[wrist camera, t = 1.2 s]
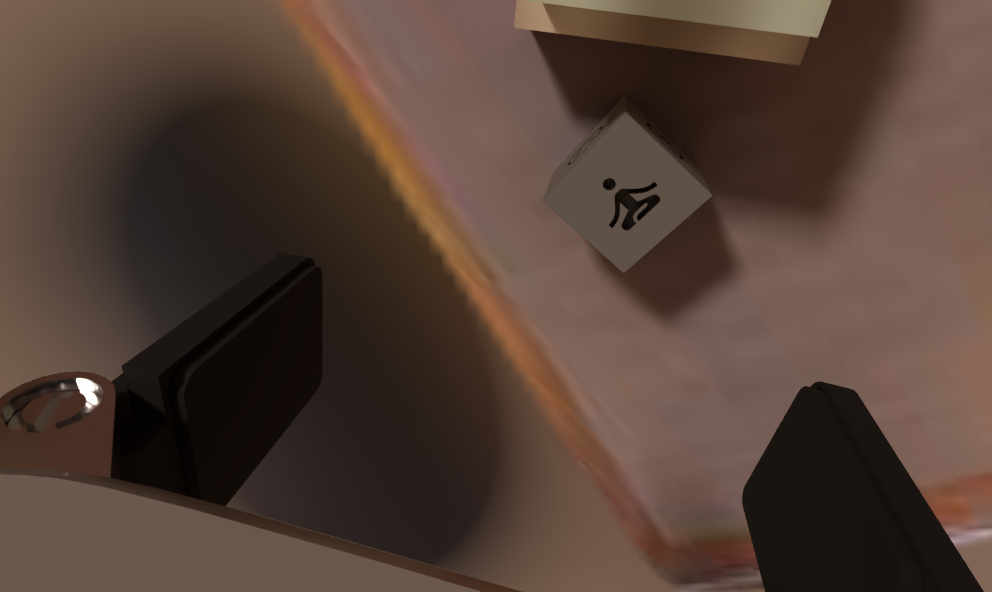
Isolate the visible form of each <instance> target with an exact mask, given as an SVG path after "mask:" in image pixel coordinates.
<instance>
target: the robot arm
mask: <svg viewBox="0 0 992 592" xmlns="http://www.w3.org/2000/svg"><path fill="white" fill-rule="evenodd" d="M122 370H123V374H121V375H120V376H118V377H117V378H116V379H114V380H113V381H112V382H111V381H109V380H108V379H107V378H106V377H103V376H101V375H98V374H95V373H88V372H64V373H57V374H52V375H48V376H43V377H40V378H37V379H34V380H32V381H29V382H26V383H24V384H21V385H20V386H18V387H16V388H14V389H12V390H11V391H9V392H7V393H6V394H4V395H3V396H2V397H1V398H0V592H522V591H518V590H514V589H512V588H508V587H505V586H501V585H497V584H494V583H491V582H487V581H484V580H481V579H477V578H474V577H470V576H467V575H464V574H460V573H456V572H453V571H450V570H446V569H443V568H440V567H436V566H433V565H429V564H426V563H422V562H419V561H416V560H412V559H409V558H405V557H402V556H398V555H395V554H391V553H388V552H384V551H380V550H377V549H374V548H370V547H367V546H363V545H360V544H356V543H353V542H350V541H346V540H343V539H339V538H336V537H332V536H329V535H325V534H321V533H318V532H315V531H311V530H307V529H304V528H301V527H297V526H294V525H290V524H286V523H283V522H280V521H276V520H273V519H269V518H266V517H262V516H259V515H255V514H252V513H248V512H244V511H241V510H237V509H233V508H229V507H226V505H227V503H229V501H230V500H231V499H232V497H233V496H234V495H235V494H236V492H237V491H238V490H239V489H240V487H241V486H242V485H243V483H244V482H245V481H246V480H247V478H248V477H249V476H250V475H251V473H252V472H253V471H254V470H255V468H256V467H257V466H258V464H259V463H260V462H261V461H262V459H263V458H264V457H265V456H266V454H267V453H268V452H269V451H270V449H271V448H272V447H273V446H274V444H275V443H276V442H277V441H278V439H279V438H280V437H281V435H282V434H283V433H284V432H285V430H286V429H287V428H288V427H289V425H290V424H291V423H292V422H293V420H294V419H295V418H296V417H297V415H298V414H299V413H300V411H301V410H302V409H303V408H304V406H305V405H306V404H307V402H308V401H309V400H310V399H311V398H312V396H313V395H314V394H315V392H316V391H317V389H318V387H319V385H320V382H321V379H322V271H321V269H320V268H319V267H315V263H314V260H313V259H311V258H308V257H304V256H300V255H296V254H292V253H288V252H281V253H279V254H278V255H276V256H275V257H274V258H272V259H271V260H269V261H268V262H267V263H265V264H264V265H262V266H261V267H260V268H258V269H257V270H256V271H254V272H253V273H251V274H250V275H248V276H247V277H246V278H244V279H243V280H241V281H240V282H239V283H237V284H236V285H234V286H233V287H232V288H230V289H229V290H228V291H226V292H225V293H223V294H222V295H220V296H219V297H218V298H216V299H215V300H213V301H212V302H211V303H209V304H208V305H206V306H205V307H204V308H202V309H201V310H199V311H198V312H197V313H195V314H194V315H192V316H191V317H190V318H188V319H187V320H185V321H184V322H183V323H181V324H180V325H178V326H177V327H176V328H174V329H173V330H171V331H170V332H169V333H167V334H166V335H164V336H163V337H162V338H160V339H159V340H157V341H156V342H155V343H153V344H152V345H151V346H149V347H148V348H146V349H145V350H143V351H142V352H141V353H139V354H138V355H136V356H135V357H134V358H132V359H131V360H129V361H128V362H127V363H125V364H124V365H122ZM742 503H743V508H744V512H745V516H746V520H747V524H748V527H749V531H750V535H751V539H752V543H753V547H754V551H755V554H756V558H757V562H758V566H759V570H760V574H761V577H762V581H763V585H764V589H765V592H984V591H983V590H982V588H981V587H980V585H979V583H978V582H977V580H976V579H975V577H974V576H973V574H972V572H971V571H970V569H969V568H968V566H967V565H966V563H965V561H964V560H963V559H962V557H961V555H960V554H959V552H958V551H957V549H956V547H955V546H954V544H953V543H952V541H951V540H950V538H949V536H948V535H947V533H946V532H945V530H944V529H943V527H942V525H941V524H940V522H939V521H938V519H937V518H936V516H935V514H934V513H933V511H932V510H931V508H930V507H929V505H928V504H927V502H926V500H925V499H924V497H923V496H922V494H921V493H920V491H919V489H918V488H917V486H916V485H915V483H914V482H913V480H912V478H911V477H910V475H909V474H908V472H907V471H906V469H905V468H904V466H903V464H902V463H901V461H900V460H899V458H898V457H897V455H896V453H895V452H894V450H893V449H892V447H891V446H890V444H889V442H888V441H887V439H886V438H885V436H884V435H883V433H882V431H881V430H880V428H879V427H878V425H877V424H876V422H875V421H874V419H873V417H872V416H871V414H870V413H869V411H868V410H867V408H866V406H865V405H864V403H863V402H862V400H861V399H860V397H859V395H858V394H857V393H856V392H855V391H854V390H852V389H849V388H845V387H841V386H837V385H833V384H828V383H824V382H820V381H819V382H815V383H814V384H813V385H812V386H811V387H808V386H805V387H803V388H801V389H800V391H799V392H798V394H797V395H796V397H795V399H794V401H793V402H792V404H791V406H790V408H789V409H788V411H787V413H786V415H785V416H784V418H783V420H782V422H781V424H780V425H779V427H778V429H777V431H776V432H775V434H774V436H773V438H772V439H771V441H770V443H769V445H768V446H767V448H766V450H765V452H764V453H763V455H762V457H761V459H760V460H759V462H758V464H757V466H756V467H755V469H754V471H753V473H752V474H751V476H750V478H749V480H748V481H747V483H746V485H745V487H744V490H743V496H742Z"/></svg>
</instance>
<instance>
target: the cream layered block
mask: <svg viewBox="0 0 992 592" xmlns="http://www.w3.org/2000/svg"><path fill="white" fill-rule="evenodd" d="M830 3H831V0H517V3H516V12H515V21H514V28H520V29H528V30H535V31H543V32H550V33H558V34H565V35H573V36H580V37H588V38H596V39H603V40H611V41H618V42H626V43H633V44H641V45H648V46H656V47H664V48H671V49H679V50H686V51H694V52H701V53H709V54H716V55H724V56H732V57H739V58H747V59H754V60H762V61H769V62H777V63H784V64H792V65H799V66H800V65H801V62H802V59H803V56H804V54H805V51H806V48H807V45H808V43H809V40H810V37H817V38H818V35H819V33H820V30H821V27H822V24H823V22H824V19H825V16H826V14H827V11H828V8H829V5H830Z"/></svg>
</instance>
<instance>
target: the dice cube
mask: <svg viewBox="0 0 992 592" xmlns="http://www.w3.org/2000/svg"><path fill="white" fill-rule="evenodd" d="M712 196H713V195H712V193H711V191H710V189H709V187H708V185H707V183H706V181H705V179H704V177H703V176H702V174H701V172H700V170H699V168H698V166H697V165H696V164H695V163H694V162H693V161H692V160H691V159H690V158H689V157H688V156H687V155H686V154H685V153H684V152H683V151H682V150H681V149H680V148H679V147H678V146H677V145H676V144H675V143H674V142H673V141H672V140H670V139H669V138H668V137H667V136H666V135H665V134H664V133H663V132H662V131H661V130H660V129H659V128H658V127H657V126H656V125H655V124H654V123H653V122H652V121H651V120H650V119H649V118H648V117H647V116H646V115H645V114H644V113H642V112H641V111H640V110H639V109H638V108H637V107H636V106H635V105H634V104H633V103H632V102H631V101H630V100H629V99H628V98H627V97H626V96H625V95H624V96H623V97H622V98H621V99H620V100H619V101H618V102H617V103H616V104H615V106H614V107H613V108H612V109H611V110H610V111H609V112H608V113H607V114H606V115H605V116H604V118H603V119H602V120H601V121H600V122H599V123H598V124H597V125H596V126H595V127H594V128H593V130H592V131H591V132H590V133H589V134H588V135H587V136H586V137H585V138H584V139H583V140H582V142H581V143H580V144H579V145H578V146H577V147H576V148H575V149H574V150H573V151H572V152H571V154H570V155H569V156H568V157H567V158H566V159H565V160H564V161H563V162H562V163H561V164H560V166H559V167H558V168H557V169H556V170H555V171H554V173H553V175H552V178H551V180H550V183H549V185H548V188H547V190H546V193H545V196H544V198H543V202H544V203H545V204H546V205H547V206H548V207H549V208H550V209H552V210H553V211H554V212H555V213H556V214H557V215H558V216H559V217H561V218H562V219H563V220H564V221H565V222H566V223H567V224H568V225H570V226H571V227H572V228H573V229H574V230H575V231H576V232H578V233H579V234H580V235H581V236H582V237H583V238H584V239H585V240H587V241H588V242H589V243H590V244H591V245H592V246H593V247H594V248H596V249H597V250H598V251H599V252H600V253H601V254H602V255H603V256H605V257H606V258H607V259H608V260H609V261H610V262H611V263H613V264H614V265H615V266H616V267H617V268H618V269H619V270H620V271H622V272H623V273H625V272H626V271H627V270H628V269H629V268H630V267H632V266H633V265H634V264H635V263H636V262H637V261H638V260H640V259H641V258H642V257H643V256H644V255H645V254H646V253H648V252H649V251H650V250H651V249H652V248H653V247H654V246H656V245H657V244H658V243H659V242H660V241H661V240H662V239H664V238H665V237H666V236H667V235H668V234H669V233H670V232H672V231H673V230H674V229H675V228H676V227H677V226H678V225H680V224H681V223H682V222H683V221H684V220H685V219H686V218H688V217H689V216H690V215H691V214H692V213H693V212H694V211H696V210H697V209H698V208H699V207H700V206H701V205H702V204H704V203H705V202H706V201H707V200H708V199H709V198H710V197H712Z"/></svg>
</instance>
